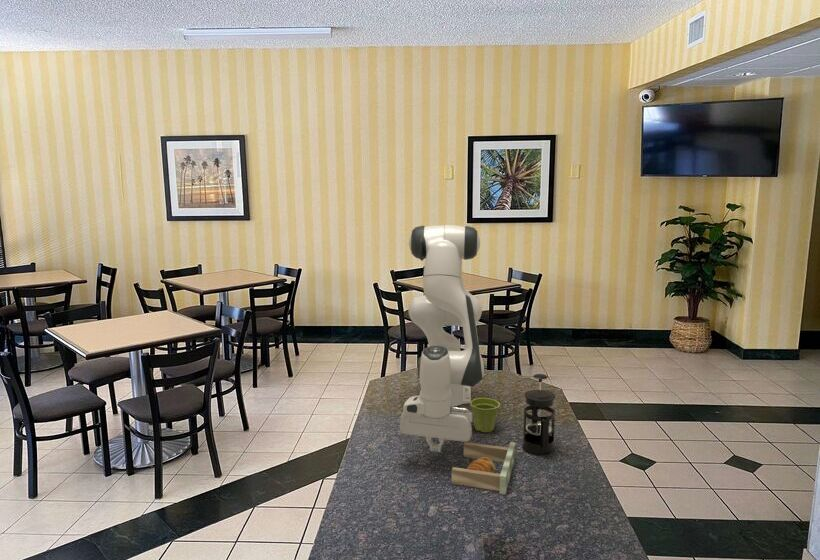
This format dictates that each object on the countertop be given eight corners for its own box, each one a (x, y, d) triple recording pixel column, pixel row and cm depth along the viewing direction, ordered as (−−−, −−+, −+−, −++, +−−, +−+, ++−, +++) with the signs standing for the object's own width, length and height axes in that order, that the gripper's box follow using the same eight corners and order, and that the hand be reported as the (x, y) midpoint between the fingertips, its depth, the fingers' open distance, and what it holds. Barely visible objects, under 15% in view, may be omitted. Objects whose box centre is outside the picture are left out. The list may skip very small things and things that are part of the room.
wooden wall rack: (465, 452, 176) (465, 436, 175) (515, 458, 172) (515, 442, 171) (450, 486, 157) (450, 469, 156) (505, 494, 153) (505, 476, 152)
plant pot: (493, 421, 198) (493, 396, 196) (503, 433, 188) (504, 407, 187) (466, 424, 196) (466, 399, 194) (475, 436, 187) (475, 410, 185)
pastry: (478, 486, 158) (478, 472, 157) (457, 478, 162) (457, 465, 161) (497, 472, 165) (497, 459, 164) (477, 465, 169) (477, 452, 168)
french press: (517, 441, 183) (519, 369, 179) (547, 439, 184) (550, 368, 179) (529, 459, 171) (531, 383, 167) (560, 457, 172) (563, 382, 168)
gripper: (474, 404, 165) (474, 450, 168) (404, 396, 171) (405, 441, 174) (470, 413, 159) (469, 461, 162) (397, 405, 165) (398, 451, 168)
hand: (435, 450), depth 168 cm, fingers closed
